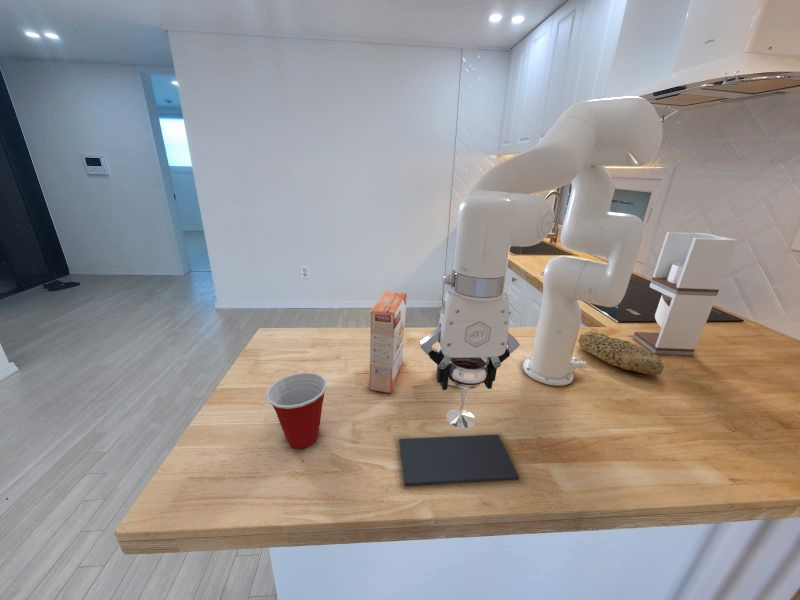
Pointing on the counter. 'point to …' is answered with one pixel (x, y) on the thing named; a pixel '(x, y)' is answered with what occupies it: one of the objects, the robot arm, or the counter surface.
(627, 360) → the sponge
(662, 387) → the counter surface
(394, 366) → the cracker box
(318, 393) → the plastic cup
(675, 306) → the white shelf stand
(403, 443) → the placemat
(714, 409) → the counter surface
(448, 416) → the wineglass
